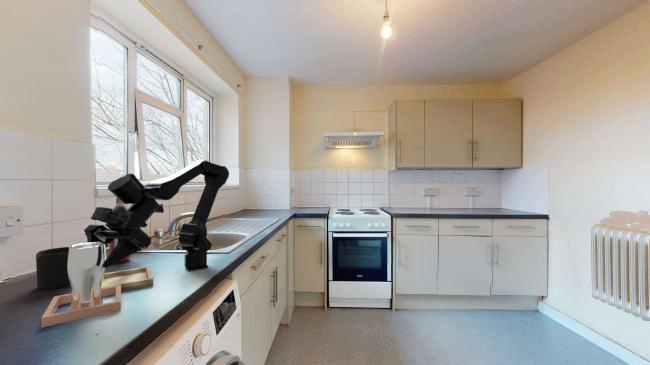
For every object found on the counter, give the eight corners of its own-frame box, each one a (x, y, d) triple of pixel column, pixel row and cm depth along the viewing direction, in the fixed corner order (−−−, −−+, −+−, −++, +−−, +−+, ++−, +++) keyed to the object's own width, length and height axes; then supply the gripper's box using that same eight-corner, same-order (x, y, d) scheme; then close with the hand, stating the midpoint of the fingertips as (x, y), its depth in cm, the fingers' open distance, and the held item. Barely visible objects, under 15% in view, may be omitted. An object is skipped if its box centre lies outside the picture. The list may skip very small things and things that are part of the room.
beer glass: (82, 315, 60) (83, 249, 60) (58, 312, 61) (59, 247, 61) (112, 302, 67) (113, 242, 67) (90, 299, 68) (91, 241, 68)
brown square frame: (120, 291, 73) (120, 284, 73) (120, 310, 63) (120, 301, 63) (54, 304, 65) (54, 296, 65) (41, 327, 55) (41, 318, 55)
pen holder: (87, 277, 84) (87, 245, 84) (69, 288, 75) (70, 253, 75) (49, 280, 81) (49, 247, 81) (26, 292, 72) (26, 255, 72)
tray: (149, 272, 89) (149, 266, 89) (153, 285, 78) (153, 278, 78) (94, 281, 81) (94, 274, 81) (89, 297, 70) (89, 289, 70)
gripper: (93, 194, 73) (38, 242, 63) (141, 196, 67) (88, 250, 56) (122, 220, 80) (77, 267, 70) (168, 223, 74) (126, 275, 64)
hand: (91, 264), depth 65 cm, fingers open, 9 cm apart
